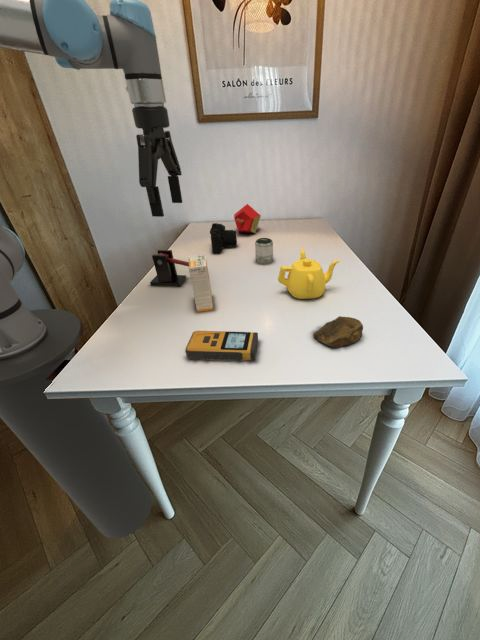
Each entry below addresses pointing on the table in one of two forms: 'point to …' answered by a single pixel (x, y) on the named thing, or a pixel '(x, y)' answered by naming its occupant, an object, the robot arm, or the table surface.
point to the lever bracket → (166, 271)
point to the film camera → (222, 238)
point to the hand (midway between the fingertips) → (168, 209)
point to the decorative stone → (340, 332)
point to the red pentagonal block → (247, 219)
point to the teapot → (306, 277)
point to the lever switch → (175, 260)
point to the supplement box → (200, 282)
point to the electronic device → (222, 345)
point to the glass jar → (264, 250)
